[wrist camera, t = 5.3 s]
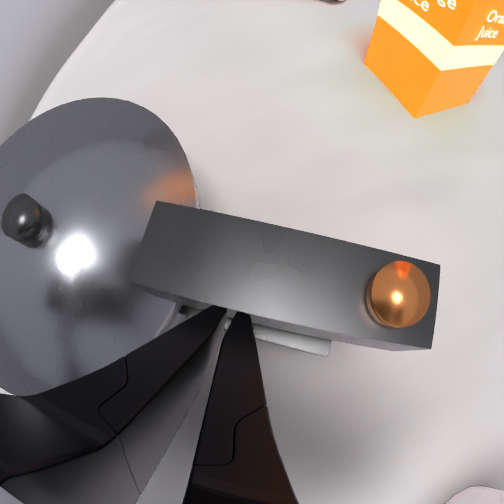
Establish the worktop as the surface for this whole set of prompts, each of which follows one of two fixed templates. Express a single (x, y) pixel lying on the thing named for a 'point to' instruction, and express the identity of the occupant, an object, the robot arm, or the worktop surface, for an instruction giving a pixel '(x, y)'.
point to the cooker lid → (164, 254)
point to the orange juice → (435, 50)
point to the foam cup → (478, 496)
